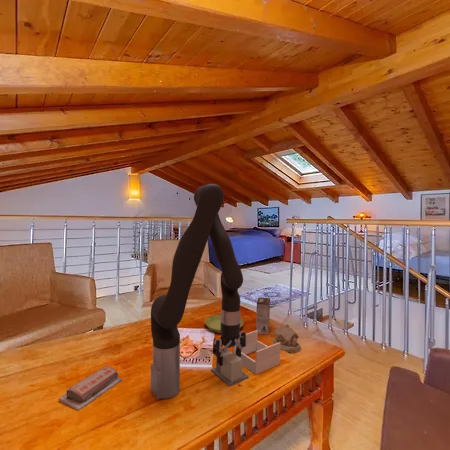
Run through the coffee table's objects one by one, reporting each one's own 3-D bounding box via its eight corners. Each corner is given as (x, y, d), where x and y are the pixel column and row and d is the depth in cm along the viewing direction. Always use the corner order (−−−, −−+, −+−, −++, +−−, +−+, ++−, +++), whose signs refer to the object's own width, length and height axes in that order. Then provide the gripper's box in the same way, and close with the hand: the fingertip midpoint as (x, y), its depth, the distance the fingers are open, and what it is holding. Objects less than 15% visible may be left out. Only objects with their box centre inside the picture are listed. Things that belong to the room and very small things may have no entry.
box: (231, 381, 106) (231, 363, 106) (216, 368, 114) (216, 351, 114) (242, 377, 109) (242, 359, 109) (226, 364, 117) (226, 348, 117)
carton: (256, 374, 112) (256, 352, 112) (233, 358, 124) (233, 337, 123) (279, 363, 120) (280, 342, 119) (256, 349, 131) (256, 330, 131)
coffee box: (257, 326, 157) (258, 296, 155) (269, 327, 155) (270, 297, 154) (255, 333, 148) (256, 302, 146) (268, 334, 146) (269, 303, 145)
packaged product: (103, 362, 111) (122, 369, 107) (103, 374, 112) (122, 381, 107) (58, 388, 95) (78, 398, 91) (58, 402, 95) (79, 412, 91)
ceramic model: (268, 341, 139) (268, 321, 139) (286, 336, 145) (286, 317, 144) (288, 355, 127) (289, 333, 126) (306, 349, 133) (307, 328, 132)
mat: (229, 386, 105) (229, 384, 105) (211, 370, 114) (211, 369, 114) (248, 377, 110) (248, 376, 110) (229, 363, 120) (229, 362, 120)
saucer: (199, 322, 160) (199, 317, 160) (232, 317, 169) (232, 311, 169) (214, 338, 141) (214, 332, 141) (250, 331, 151) (250, 325, 150)
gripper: (220, 328, 103) (219, 372, 104) (251, 319, 111) (249, 360, 113) (209, 321, 109) (208, 362, 110) (238, 313, 118) (237, 352, 119)
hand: (229, 361), depth 111 cm, fingers open, 8 cm apart
